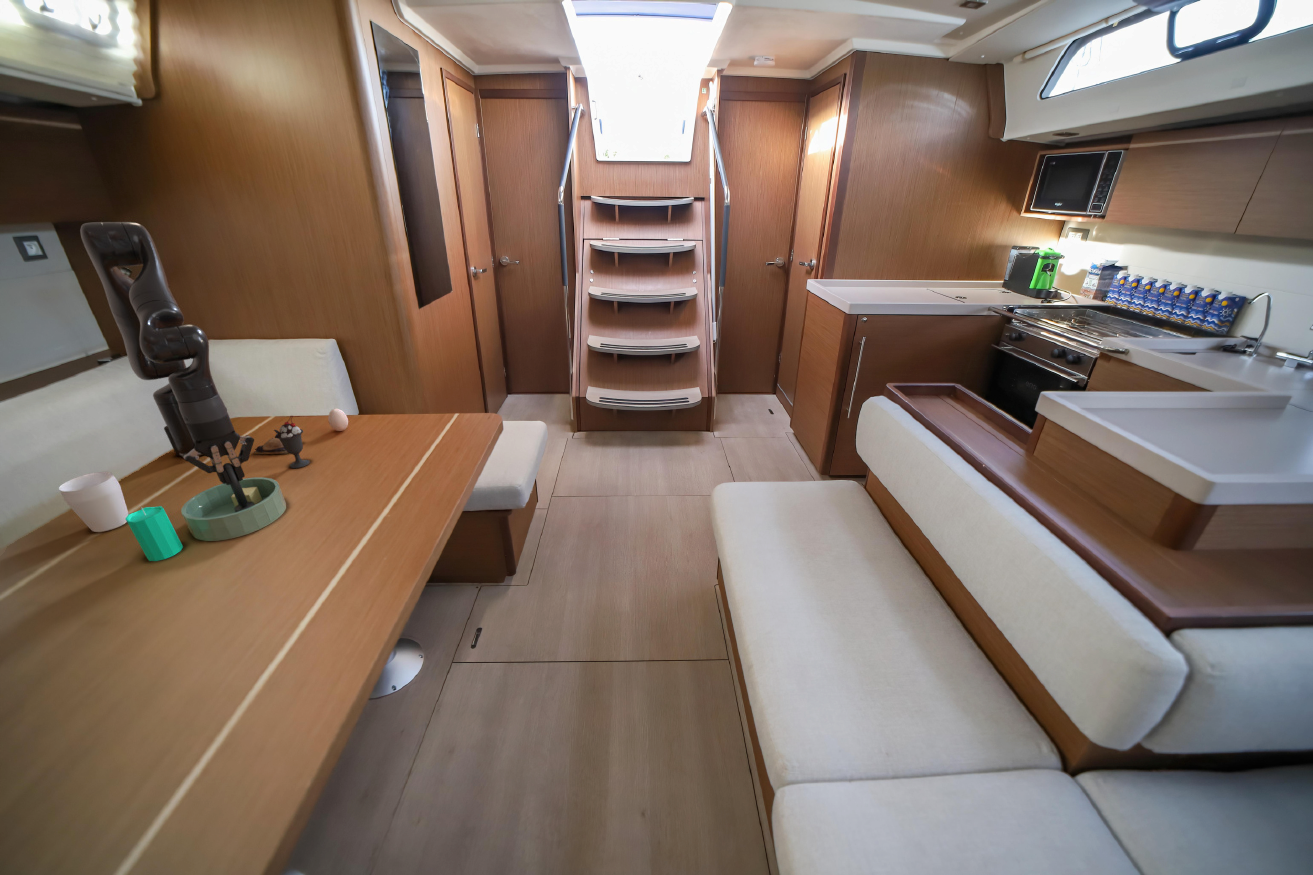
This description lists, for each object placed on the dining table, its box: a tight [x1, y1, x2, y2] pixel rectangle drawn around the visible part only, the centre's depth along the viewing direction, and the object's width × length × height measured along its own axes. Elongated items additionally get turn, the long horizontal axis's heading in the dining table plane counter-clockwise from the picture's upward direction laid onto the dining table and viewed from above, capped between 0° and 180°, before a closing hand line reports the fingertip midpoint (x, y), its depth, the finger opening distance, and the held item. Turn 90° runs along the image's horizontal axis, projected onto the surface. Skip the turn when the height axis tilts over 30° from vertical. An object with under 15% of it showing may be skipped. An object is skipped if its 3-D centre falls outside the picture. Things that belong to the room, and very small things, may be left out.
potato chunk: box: [231, 487, 262, 507], centre depth 126 cm, size 4×4×4 cm
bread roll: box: [254, 437, 289, 455], centre depth 155 cm, size 11×8×4 cm
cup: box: [58, 471, 130, 533], centre depth 117 cm, size 9×9×12 cm
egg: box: [327, 408, 349, 432], centre depth 166 cm, size 6×6×8 cm
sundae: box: [273, 415, 310, 469], centre depth 144 cm, size 7×7×15 cm
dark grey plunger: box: [222, 462, 255, 512], centre depth 120 cm, size 4×4×14 cm
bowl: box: [180, 476, 287, 542], centre depth 122 cm, size 19×19×6 cm
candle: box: [126, 505, 184, 562], centre depth 108 cm, size 6×6×12 cm
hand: (233, 481), depth 119 cm, fingers closed on dark grey plunger, 2 cm apart
